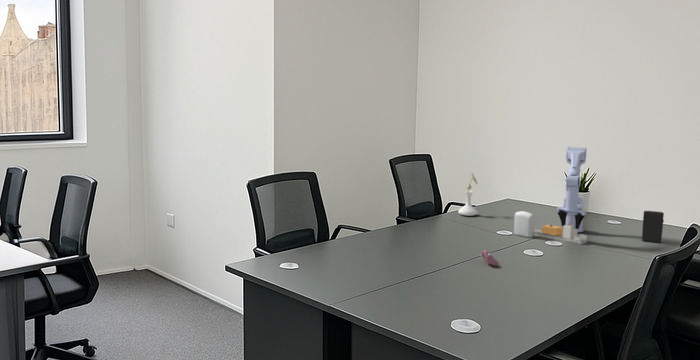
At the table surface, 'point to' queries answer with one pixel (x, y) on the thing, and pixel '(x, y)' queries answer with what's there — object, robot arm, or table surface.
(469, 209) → the flower in vase
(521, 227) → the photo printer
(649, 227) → the card reader
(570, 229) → the block
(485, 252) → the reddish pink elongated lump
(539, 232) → the mounting rail
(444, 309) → the table surface
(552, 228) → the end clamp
